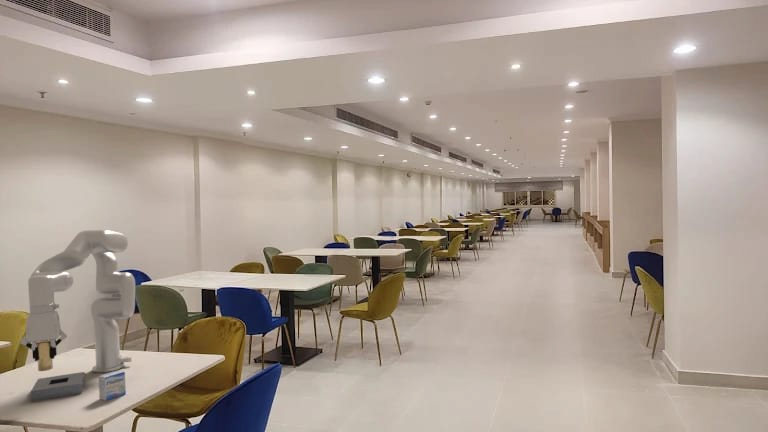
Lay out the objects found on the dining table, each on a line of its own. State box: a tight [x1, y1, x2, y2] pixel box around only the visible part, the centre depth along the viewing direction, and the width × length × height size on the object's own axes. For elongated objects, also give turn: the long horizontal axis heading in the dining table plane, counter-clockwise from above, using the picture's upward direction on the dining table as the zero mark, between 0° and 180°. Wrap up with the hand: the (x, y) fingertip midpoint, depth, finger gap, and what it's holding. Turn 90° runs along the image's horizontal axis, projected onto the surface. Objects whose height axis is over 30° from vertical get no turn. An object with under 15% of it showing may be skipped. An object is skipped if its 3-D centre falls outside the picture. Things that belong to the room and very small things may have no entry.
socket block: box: [30, 371, 86, 403], centre depth 200 cm, size 16×16×4 cm
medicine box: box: [98, 370, 127, 402], centre depth 192 cm, size 8×4×9 cm, turn 148°
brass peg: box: [36, 340, 54, 372], centre depth 186 cm, size 4×4×10 cm
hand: (45, 358), depth 186 cm, fingers closed on brass peg, 4 cm apart
